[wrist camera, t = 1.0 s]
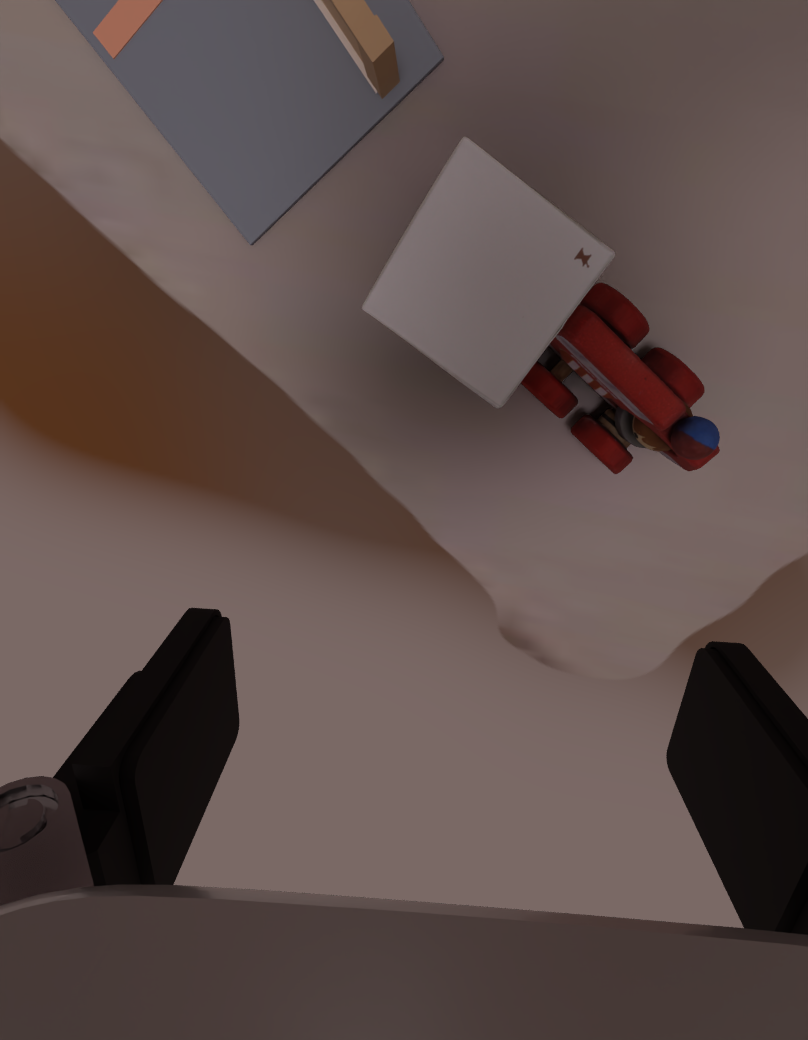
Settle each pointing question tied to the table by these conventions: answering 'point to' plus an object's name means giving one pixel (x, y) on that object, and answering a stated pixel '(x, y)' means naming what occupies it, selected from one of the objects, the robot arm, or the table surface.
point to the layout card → (260, 85)
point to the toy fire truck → (624, 386)
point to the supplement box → (485, 274)
